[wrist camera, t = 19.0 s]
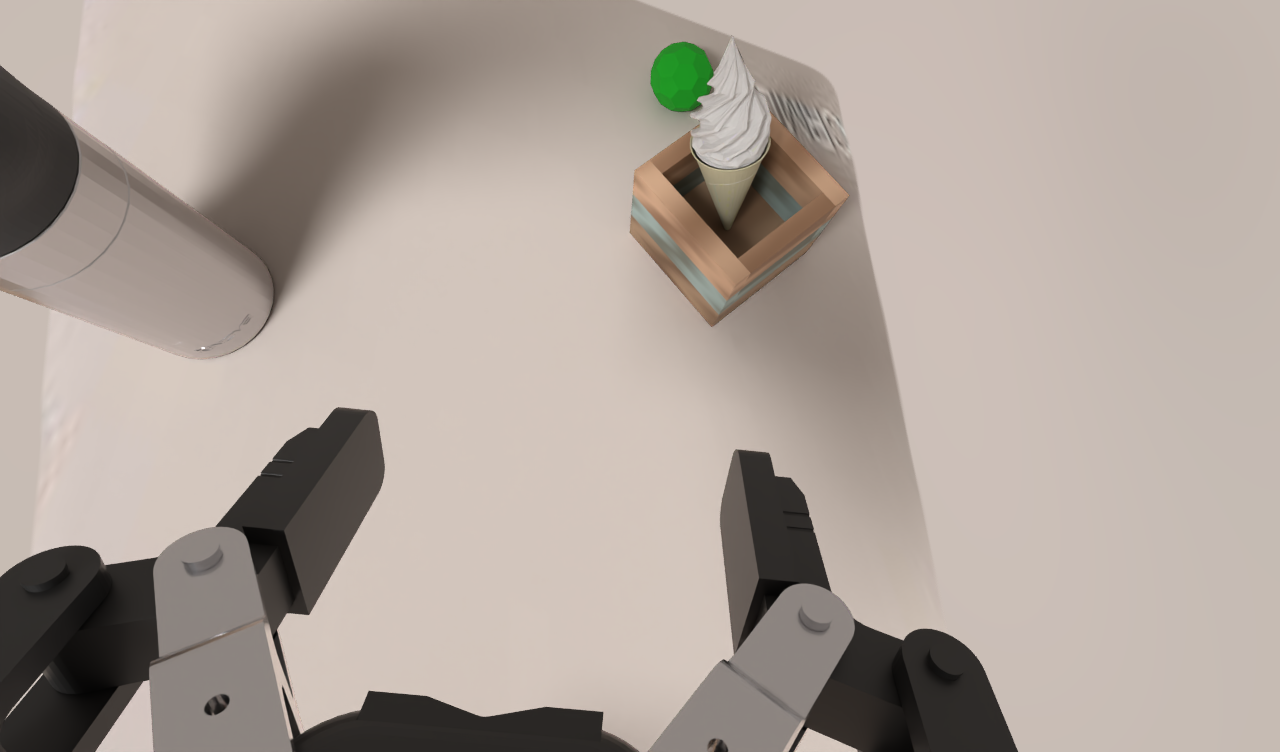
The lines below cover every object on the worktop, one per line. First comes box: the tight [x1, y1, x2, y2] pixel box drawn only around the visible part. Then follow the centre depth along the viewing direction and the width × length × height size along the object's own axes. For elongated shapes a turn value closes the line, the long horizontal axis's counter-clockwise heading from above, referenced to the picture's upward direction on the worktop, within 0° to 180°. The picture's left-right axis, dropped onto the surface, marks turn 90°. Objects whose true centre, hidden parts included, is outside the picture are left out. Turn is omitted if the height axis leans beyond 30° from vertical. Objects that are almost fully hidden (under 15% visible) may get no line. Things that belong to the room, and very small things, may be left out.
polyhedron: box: [651, 42, 714, 112], centre depth 49 cm, size 5×5×5 cm
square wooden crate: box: [630, 112, 849, 327], centre depth 44 cm, size 10×10×9 cm
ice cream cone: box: [690, 36, 771, 230], centre depth 39 cm, size 5×5×15 cm
